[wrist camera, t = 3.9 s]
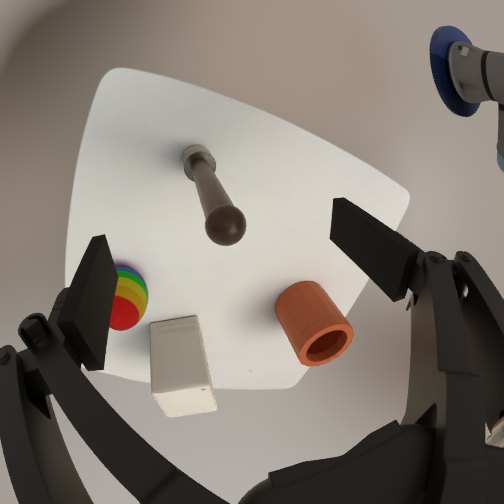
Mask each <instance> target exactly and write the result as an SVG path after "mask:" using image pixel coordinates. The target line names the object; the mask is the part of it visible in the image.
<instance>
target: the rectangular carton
mask: <svg viewBox="0 0 504 504" xmlns="http://www.w3.org/2000/svg"><path fill="white" fill-rule="evenodd" d="M150 370H151V393H152V395H153V396H154V398H155V399H156V401H157V402H158V404H159V405H160V407H161V408H162V410H163V411H164V413H165V414H166V416H167V417H168V418H169V417H178V416H185V415H192V414H199V413H206V412H212V411H216V410H217V404H216V399H215V395H214V391H213V386H212V382H211V377H210V372H209V367H208V363H207V358H206V353H205V348H204V343H203V339H202V335H201V330H200V326H199V322H198V318H197V316H193V317H187V318H181V319H175V320H169V321H163V322H156V323H151V324H150Z"/></svg>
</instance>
